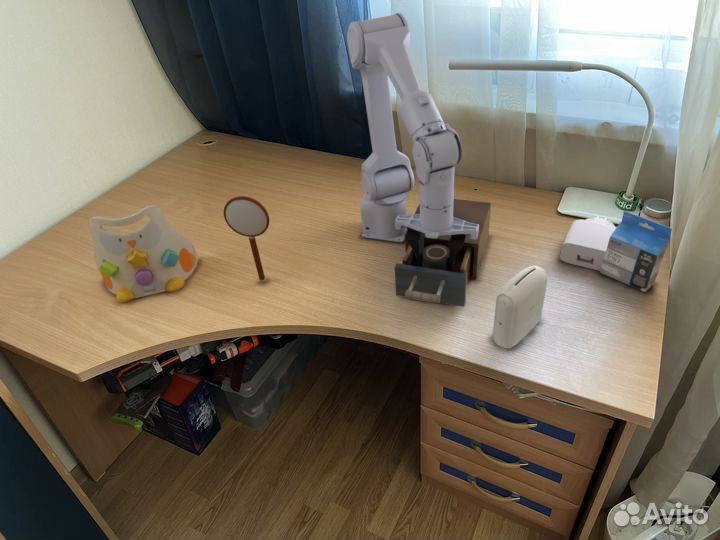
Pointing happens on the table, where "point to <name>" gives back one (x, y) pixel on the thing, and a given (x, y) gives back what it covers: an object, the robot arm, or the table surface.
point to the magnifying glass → (248, 223)
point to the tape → (436, 257)
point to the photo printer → (519, 306)
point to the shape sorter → (142, 255)
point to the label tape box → (636, 251)
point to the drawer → (434, 278)
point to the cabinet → (472, 214)
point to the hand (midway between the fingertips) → (436, 263)
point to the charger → (587, 242)
